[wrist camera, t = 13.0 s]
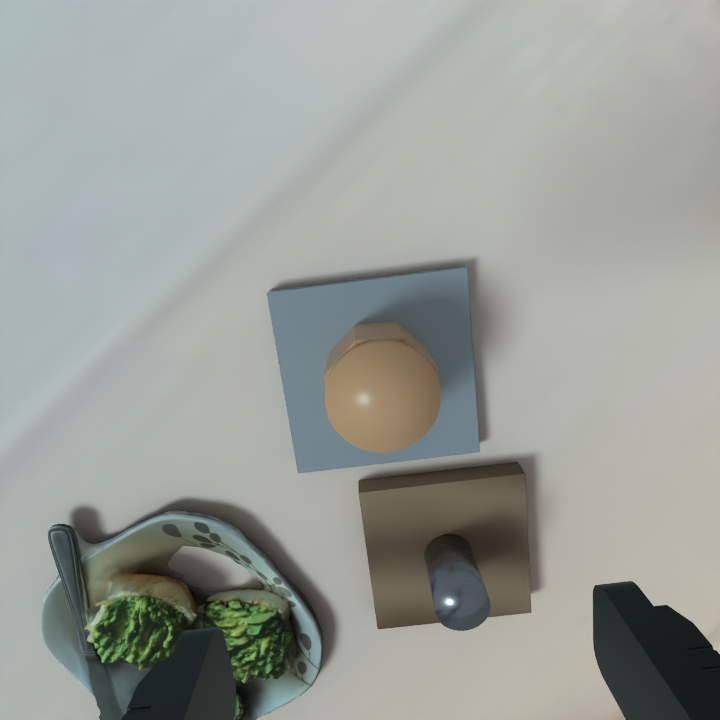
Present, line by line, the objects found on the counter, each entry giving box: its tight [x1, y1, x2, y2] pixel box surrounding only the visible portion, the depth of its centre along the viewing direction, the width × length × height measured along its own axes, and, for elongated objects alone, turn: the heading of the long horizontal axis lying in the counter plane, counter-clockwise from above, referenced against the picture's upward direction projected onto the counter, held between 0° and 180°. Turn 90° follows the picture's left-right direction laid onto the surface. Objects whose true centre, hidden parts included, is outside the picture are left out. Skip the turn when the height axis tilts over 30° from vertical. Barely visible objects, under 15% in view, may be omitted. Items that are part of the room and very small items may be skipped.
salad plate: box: [41, 510, 323, 720], centre depth 33 cm, size 19×18×5 cm
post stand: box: [359, 462, 531, 631], centre depth 30 cm, size 10×10×6 cm
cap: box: [324, 322, 441, 453], centre depth 27 cm, size 6×6×5 cm
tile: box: [267, 266, 480, 473], centre depth 30 cm, size 11×11×1 cm
